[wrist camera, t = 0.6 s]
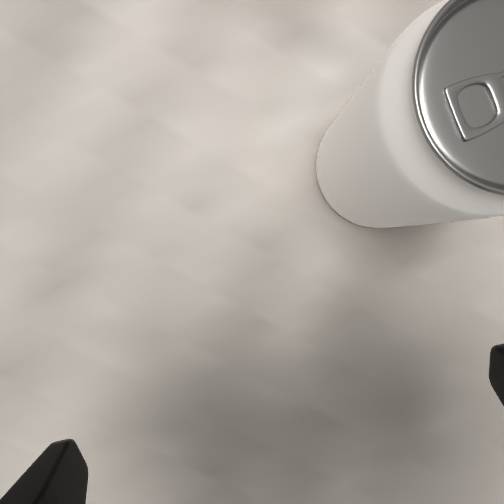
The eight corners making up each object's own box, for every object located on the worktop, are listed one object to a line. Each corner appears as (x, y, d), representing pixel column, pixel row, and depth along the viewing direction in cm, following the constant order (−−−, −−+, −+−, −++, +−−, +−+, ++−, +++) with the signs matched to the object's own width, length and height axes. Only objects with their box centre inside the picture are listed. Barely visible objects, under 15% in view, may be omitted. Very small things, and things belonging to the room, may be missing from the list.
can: (454, 200, 23) (688, 155, 11) (341, 247, 23) (453, 253, 11) (408, 86, 23) (597, -88, 11) (295, 133, 23) (356, 10, 11)
